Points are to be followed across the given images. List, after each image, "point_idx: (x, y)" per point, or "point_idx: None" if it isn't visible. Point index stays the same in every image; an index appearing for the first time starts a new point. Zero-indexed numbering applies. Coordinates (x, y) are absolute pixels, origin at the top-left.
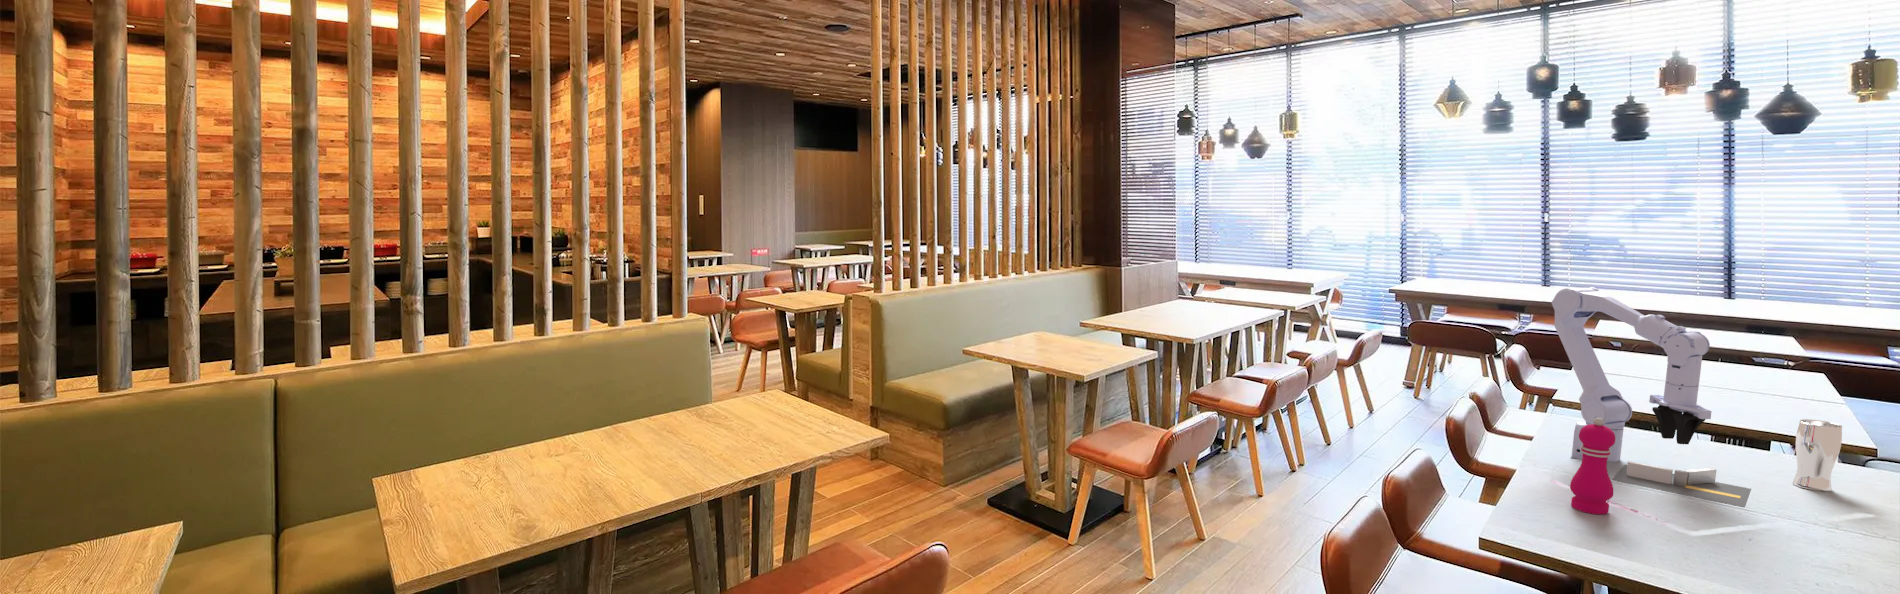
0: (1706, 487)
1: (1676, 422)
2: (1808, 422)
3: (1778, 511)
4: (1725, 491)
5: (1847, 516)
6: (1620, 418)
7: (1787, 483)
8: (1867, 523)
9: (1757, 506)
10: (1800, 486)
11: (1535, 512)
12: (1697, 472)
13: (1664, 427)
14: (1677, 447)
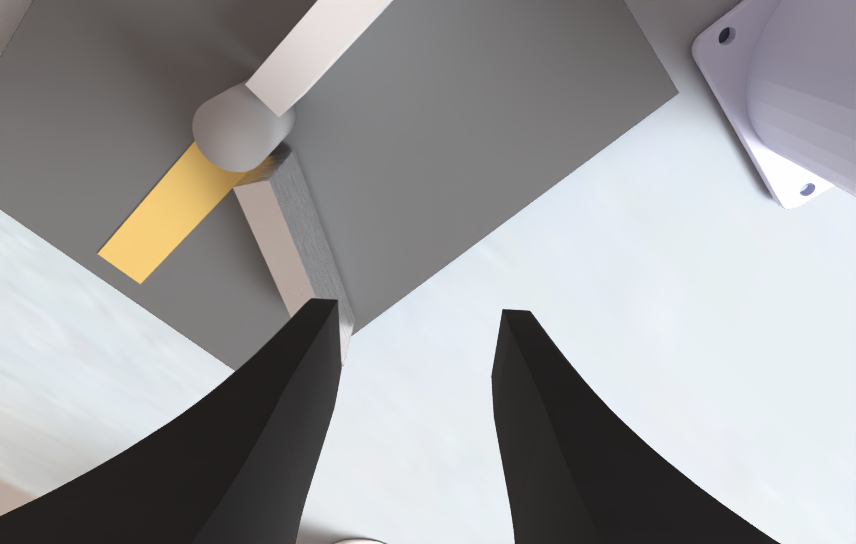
0: (252, 232)
1: (222, 470)
2: None
3: (28, 304)
4: (201, 271)
5: (69, 461)
6: None
7: (393, 537)
8: (12, 461)
9: (71, 273)
10: (354, 542)
11: None
12: (264, 248)
13: (529, 395)
14: (806, 532)
